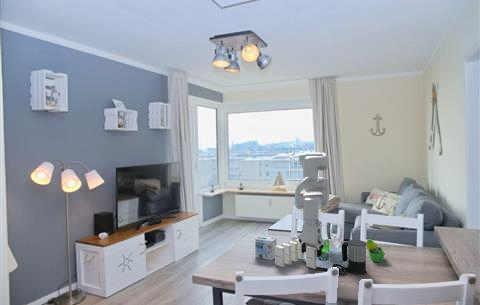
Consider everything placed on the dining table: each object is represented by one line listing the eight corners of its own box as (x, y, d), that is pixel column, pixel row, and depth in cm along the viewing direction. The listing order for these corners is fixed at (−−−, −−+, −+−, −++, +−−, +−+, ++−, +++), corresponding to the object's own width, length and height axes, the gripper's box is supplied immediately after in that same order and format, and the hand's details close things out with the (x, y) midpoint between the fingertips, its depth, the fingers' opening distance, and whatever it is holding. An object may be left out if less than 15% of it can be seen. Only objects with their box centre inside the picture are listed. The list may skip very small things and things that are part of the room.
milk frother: (369, 270, 169) (369, 241, 169) (356, 280, 158) (356, 249, 157) (343, 264, 179) (343, 236, 178) (329, 273, 167) (329, 243, 167)
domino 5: (308, 265, 178) (308, 246, 177) (316, 267, 174) (316, 248, 174) (306, 266, 176) (306, 247, 176) (314, 268, 173) (314, 249, 172)
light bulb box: (255, 257, 191) (254, 238, 190) (259, 253, 197) (259, 235, 196) (272, 260, 186) (272, 241, 185) (276, 256, 192) (276, 237, 191)
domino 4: (296, 256, 192) (296, 238, 191) (304, 258, 188) (303, 240, 188) (294, 257, 190) (294, 239, 190) (301, 259, 187) (301, 241, 186)
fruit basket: (385, 263, 179) (385, 242, 179) (368, 262, 181) (368, 241, 181) (380, 256, 190) (381, 236, 190) (364, 255, 192) (364, 235, 192)
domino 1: (277, 263, 181) (277, 245, 180) (284, 266, 177) (284, 247, 177) (275, 264, 179) (274, 246, 179) (282, 267, 176) (282, 248, 175)
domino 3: (290, 258, 188) (290, 241, 188) (297, 260, 184) (297, 242, 184) (288, 259, 187) (288, 241, 186) (295, 261, 183) (295, 243, 183)
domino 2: (284, 261, 184) (284, 243, 184) (291, 263, 181) (291, 245, 180) (281, 262, 183) (281, 243, 183) (289, 264, 179) (288, 245, 179)
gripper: (329, 223, 170) (329, 256, 170) (302, 218, 183) (302, 249, 183) (321, 225, 165) (321, 260, 165) (293, 220, 178) (293, 252, 178)
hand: (311, 254), depth 174 cm, fingers open, 9 cm apart
